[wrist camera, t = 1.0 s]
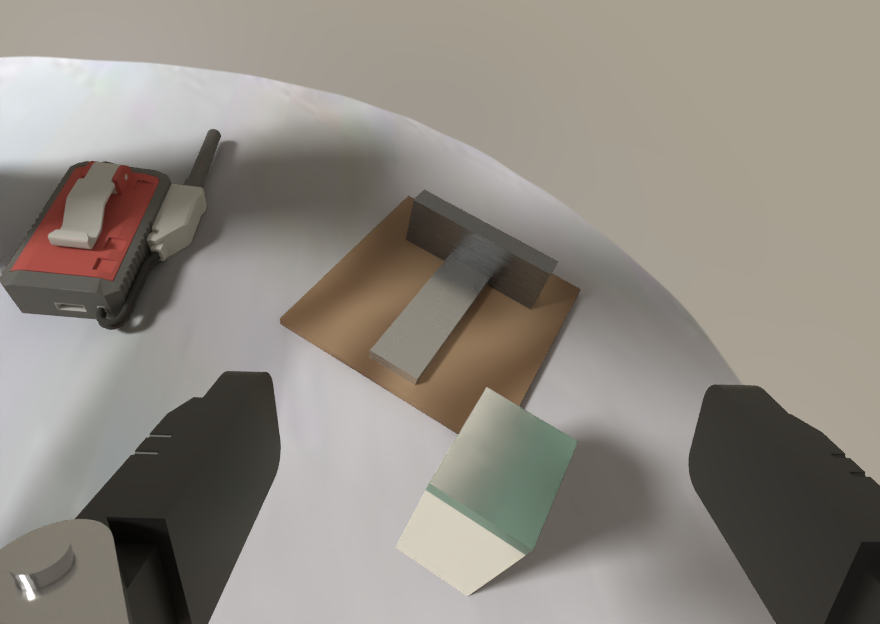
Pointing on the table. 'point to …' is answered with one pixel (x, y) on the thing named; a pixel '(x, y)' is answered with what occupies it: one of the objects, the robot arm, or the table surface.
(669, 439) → the table surface
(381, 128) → the table surface
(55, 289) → the walkie-talkie
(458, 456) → the block
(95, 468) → the table surface
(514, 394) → the mounting board
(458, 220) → the block
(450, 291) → the rail
